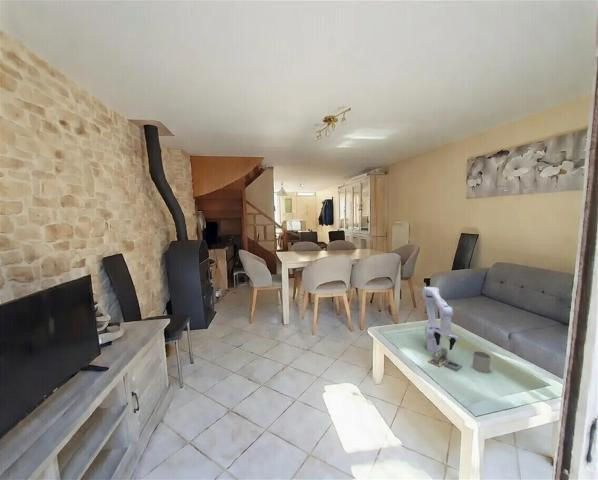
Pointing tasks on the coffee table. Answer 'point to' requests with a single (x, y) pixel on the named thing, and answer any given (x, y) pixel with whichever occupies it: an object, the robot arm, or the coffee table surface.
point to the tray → (437, 364)
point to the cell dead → (444, 353)
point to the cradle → (452, 366)
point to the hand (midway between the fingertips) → (444, 347)
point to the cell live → (436, 358)
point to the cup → (481, 362)
